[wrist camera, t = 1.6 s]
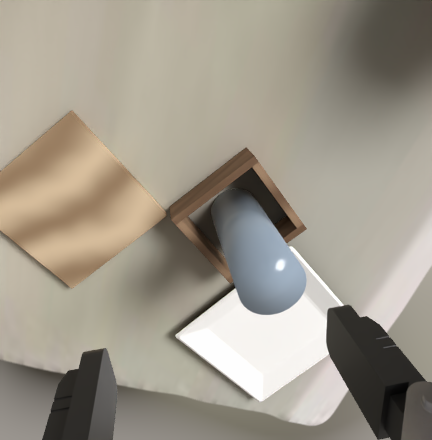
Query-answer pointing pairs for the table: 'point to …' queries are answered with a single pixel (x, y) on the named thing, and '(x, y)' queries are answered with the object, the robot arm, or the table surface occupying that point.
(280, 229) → the holder
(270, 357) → the plate
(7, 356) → the table surface
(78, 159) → the wooden board
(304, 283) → the cylinder
